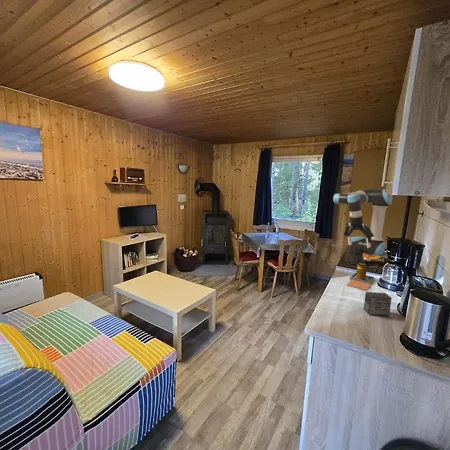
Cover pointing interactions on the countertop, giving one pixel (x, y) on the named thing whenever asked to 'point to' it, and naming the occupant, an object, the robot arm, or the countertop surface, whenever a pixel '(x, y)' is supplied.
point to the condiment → (361, 271)
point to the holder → (362, 280)
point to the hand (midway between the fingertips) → (359, 246)
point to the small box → (377, 304)
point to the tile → (359, 285)
